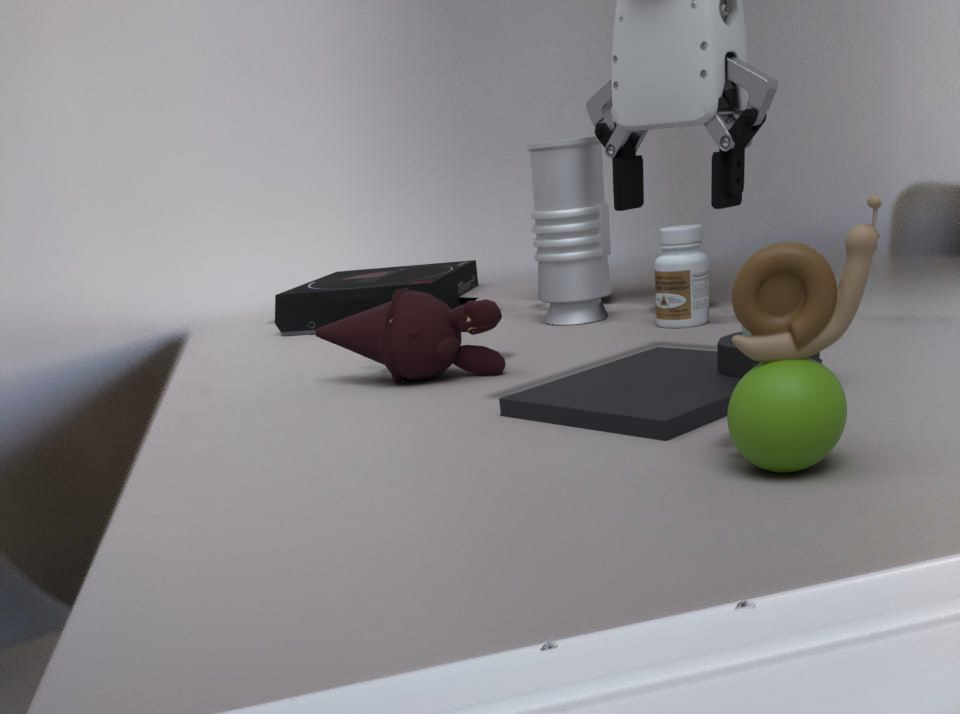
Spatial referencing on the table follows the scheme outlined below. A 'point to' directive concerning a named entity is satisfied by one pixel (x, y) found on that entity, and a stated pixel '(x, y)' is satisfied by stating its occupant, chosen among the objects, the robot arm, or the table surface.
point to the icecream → (419, 336)
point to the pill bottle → (682, 278)
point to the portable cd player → (368, 293)
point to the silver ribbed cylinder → (571, 229)
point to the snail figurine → (794, 349)
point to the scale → (641, 392)
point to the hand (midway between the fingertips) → (676, 208)
